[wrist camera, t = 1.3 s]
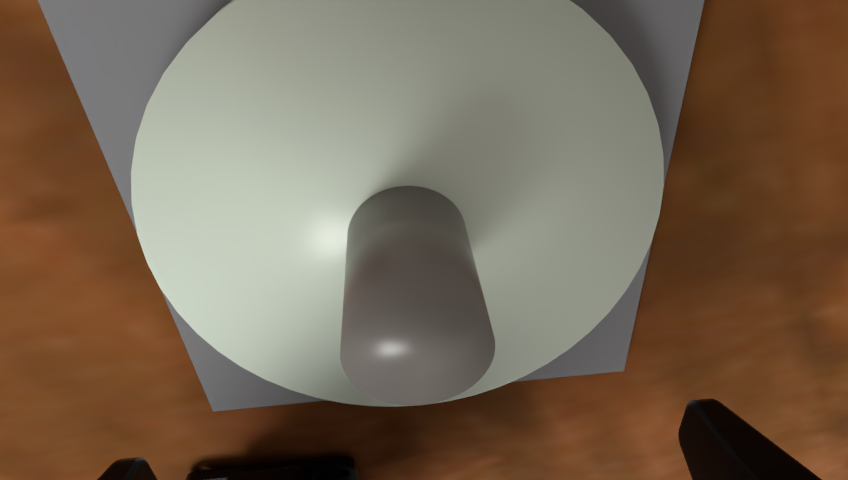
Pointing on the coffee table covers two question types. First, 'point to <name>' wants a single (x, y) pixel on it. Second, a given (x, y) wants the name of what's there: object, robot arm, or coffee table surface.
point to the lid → (397, 190)
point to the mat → (197, 3)
